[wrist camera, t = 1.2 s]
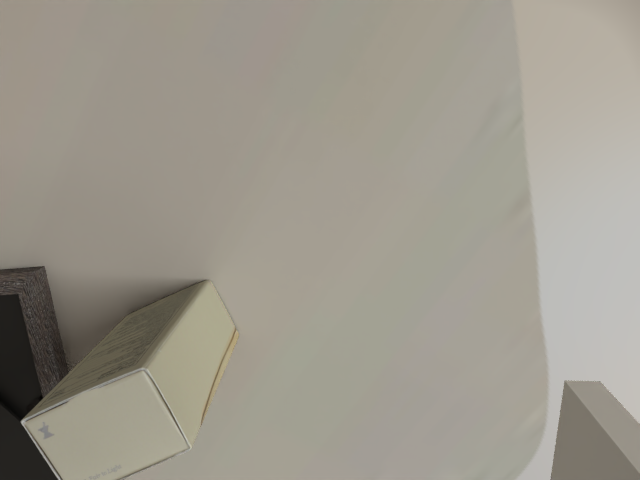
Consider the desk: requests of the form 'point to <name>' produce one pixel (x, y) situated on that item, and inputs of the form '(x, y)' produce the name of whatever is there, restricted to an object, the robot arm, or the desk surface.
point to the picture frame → (26, 367)
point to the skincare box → (137, 390)
